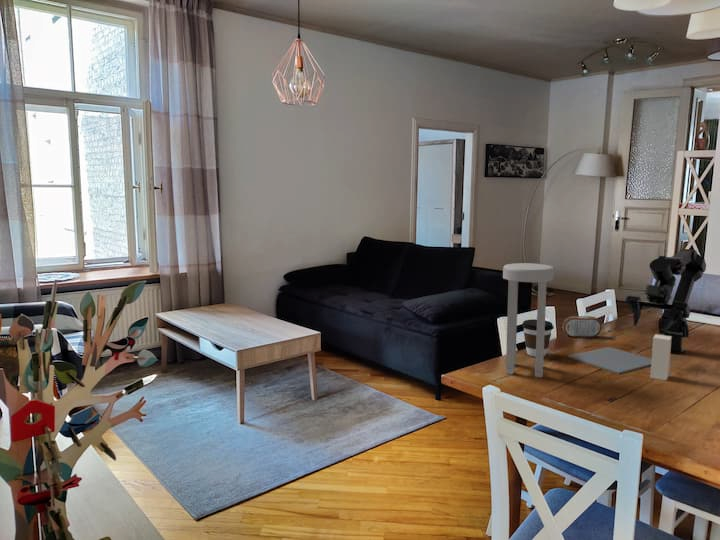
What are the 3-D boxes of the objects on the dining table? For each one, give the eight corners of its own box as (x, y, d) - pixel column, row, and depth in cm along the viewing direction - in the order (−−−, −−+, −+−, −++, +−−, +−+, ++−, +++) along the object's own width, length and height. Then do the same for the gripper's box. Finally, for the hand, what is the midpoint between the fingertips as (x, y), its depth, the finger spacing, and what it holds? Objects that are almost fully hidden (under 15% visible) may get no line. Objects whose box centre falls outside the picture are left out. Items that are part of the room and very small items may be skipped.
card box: (652, 373, 171) (655, 334, 169) (668, 375, 168) (671, 336, 166) (650, 377, 167) (653, 337, 165) (666, 380, 164) (669, 340, 162)
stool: (498, 375, 170) (501, 268, 165) (503, 360, 185) (505, 262, 180) (549, 380, 165) (553, 270, 160) (549, 365, 179) (553, 263, 174)
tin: (599, 335, 215) (600, 315, 214) (602, 338, 212) (603, 317, 211) (561, 335, 216) (562, 315, 215) (563, 337, 213) (564, 317, 212)
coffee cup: (553, 352, 194) (555, 320, 192) (550, 361, 184) (552, 327, 182) (523, 348, 198) (524, 317, 197) (518, 357, 189) (519, 324, 187)
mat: (608, 348, 198) (608, 346, 198) (659, 362, 180) (660, 361, 180) (567, 357, 187) (567, 355, 187) (618, 374, 170) (618, 372, 170)
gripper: (628, 272, 181) (614, 310, 176) (689, 278, 168) (676, 319, 163) (636, 290, 188) (622, 327, 183) (695, 297, 175) (682, 337, 169)
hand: (649, 327), depth 174 cm, fingers open, 9 cm apart
